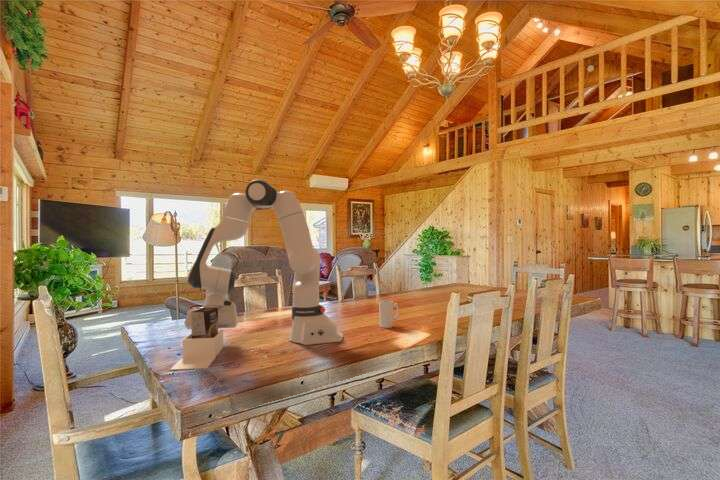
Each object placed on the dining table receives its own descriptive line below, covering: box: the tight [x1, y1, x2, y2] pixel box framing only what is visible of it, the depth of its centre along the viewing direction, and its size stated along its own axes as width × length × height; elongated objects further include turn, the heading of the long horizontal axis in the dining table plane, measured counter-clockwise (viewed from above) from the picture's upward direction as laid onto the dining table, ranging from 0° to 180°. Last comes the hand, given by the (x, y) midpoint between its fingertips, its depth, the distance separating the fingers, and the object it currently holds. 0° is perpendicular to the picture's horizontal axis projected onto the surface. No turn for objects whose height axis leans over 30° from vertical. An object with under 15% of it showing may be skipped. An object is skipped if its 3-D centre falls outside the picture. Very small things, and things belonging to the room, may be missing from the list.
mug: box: [378, 299, 400, 329], centre depth 187 cm, size 10×7×12 cm, turn 105°
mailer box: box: [169, 329, 224, 371], centre depth 142 cm, size 12×25×7 cm, turn 7°
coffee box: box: [191, 308, 219, 339], centre depth 149 cm, size 9×6×16 cm
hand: (208, 336), depth 154 cm, fingers closed
